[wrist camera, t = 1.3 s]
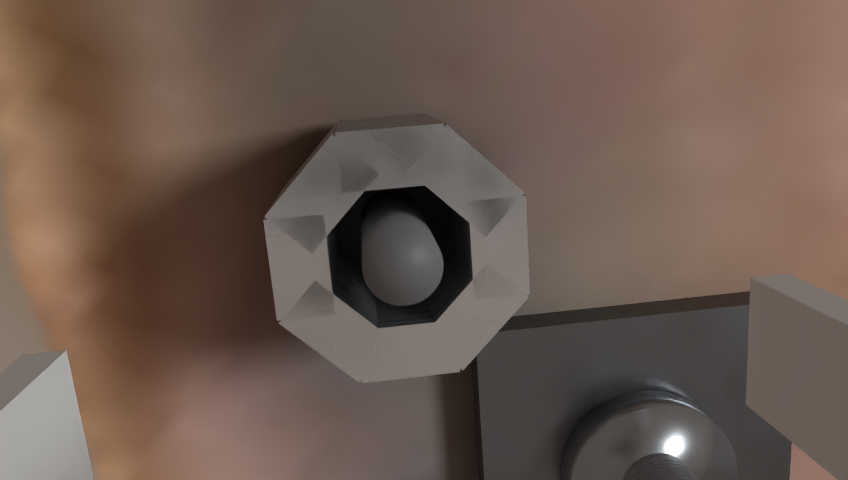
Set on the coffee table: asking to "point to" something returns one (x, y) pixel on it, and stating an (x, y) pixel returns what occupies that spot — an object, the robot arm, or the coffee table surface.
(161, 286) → the coffee table surface
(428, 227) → the stand
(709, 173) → the coffee table surface
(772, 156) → the coffee table surface
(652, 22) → the coffee table surface
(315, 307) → the grey octagonal holder
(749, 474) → the square peg base
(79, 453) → the robot arm
